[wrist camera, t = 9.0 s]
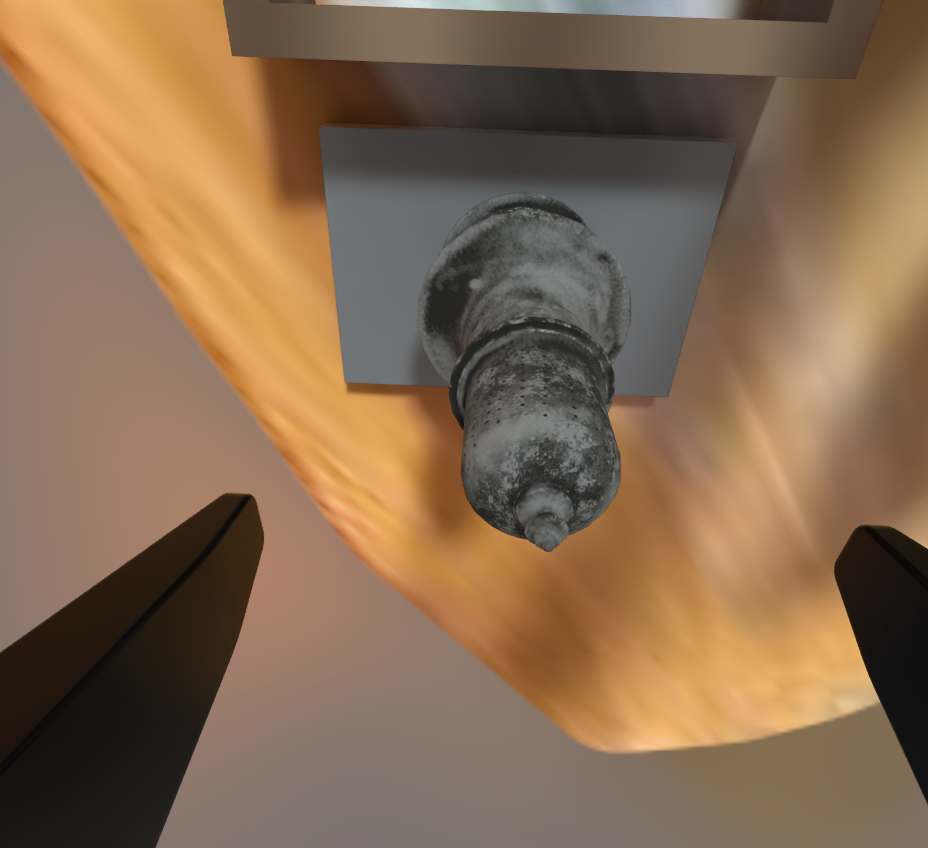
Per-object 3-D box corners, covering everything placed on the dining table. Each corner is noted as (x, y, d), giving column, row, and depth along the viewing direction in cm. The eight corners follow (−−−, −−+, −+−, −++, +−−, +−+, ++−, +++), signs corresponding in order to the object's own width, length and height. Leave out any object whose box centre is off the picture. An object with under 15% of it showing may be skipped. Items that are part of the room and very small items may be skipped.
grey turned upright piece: (622, 332, 20) (758, 635, 10) (460, 374, 21) (431, 683, 11) (591, 154, 16) (742, 330, 7) (402, 215, 18) (288, 443, 8)
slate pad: (725, 138, 17) (737, 143, 16) (661, 383, 22) (667, 397, 21) (326, 122, 17) (318, 126, 16) (350, 369, 22) (344, 382, 21)
